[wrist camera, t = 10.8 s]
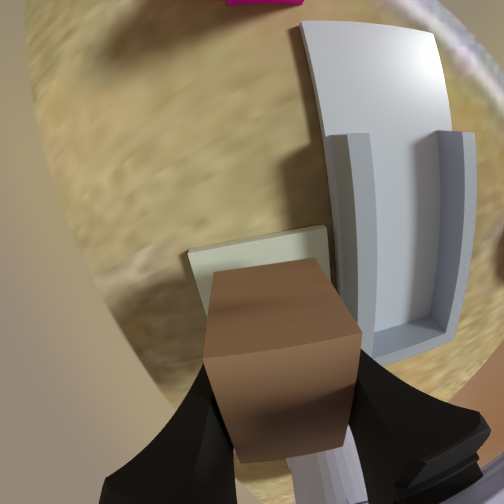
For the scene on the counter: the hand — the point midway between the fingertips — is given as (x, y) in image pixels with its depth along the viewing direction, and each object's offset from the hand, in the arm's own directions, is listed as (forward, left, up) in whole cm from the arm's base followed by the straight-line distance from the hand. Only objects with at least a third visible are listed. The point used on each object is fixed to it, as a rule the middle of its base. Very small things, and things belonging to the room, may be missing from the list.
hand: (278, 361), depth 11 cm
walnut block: (0, 0, -2) cm, 2 cm away
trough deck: (+4, -8, -5) cm, 11 cm away
